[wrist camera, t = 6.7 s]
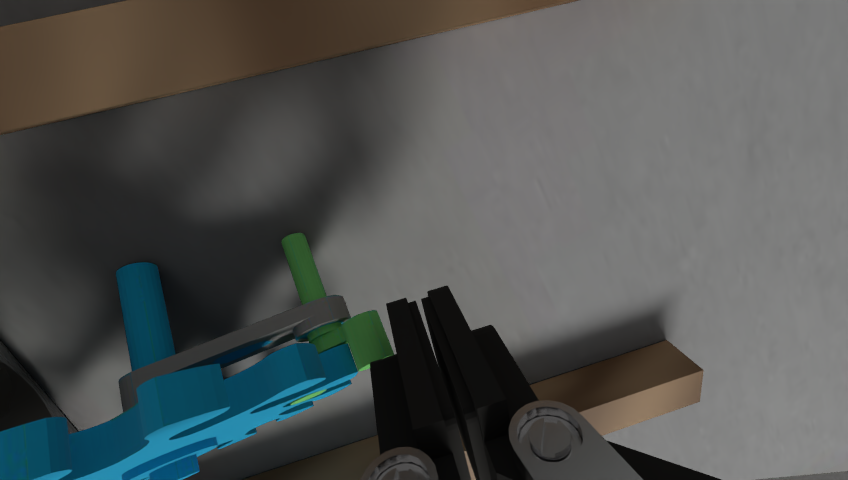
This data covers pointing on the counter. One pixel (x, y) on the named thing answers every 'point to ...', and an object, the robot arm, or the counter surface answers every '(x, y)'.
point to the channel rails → (267, 52)
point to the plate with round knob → (22, 395)
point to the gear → (201, 383)
